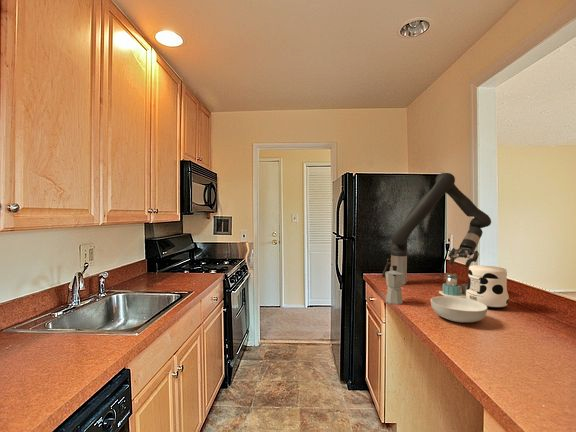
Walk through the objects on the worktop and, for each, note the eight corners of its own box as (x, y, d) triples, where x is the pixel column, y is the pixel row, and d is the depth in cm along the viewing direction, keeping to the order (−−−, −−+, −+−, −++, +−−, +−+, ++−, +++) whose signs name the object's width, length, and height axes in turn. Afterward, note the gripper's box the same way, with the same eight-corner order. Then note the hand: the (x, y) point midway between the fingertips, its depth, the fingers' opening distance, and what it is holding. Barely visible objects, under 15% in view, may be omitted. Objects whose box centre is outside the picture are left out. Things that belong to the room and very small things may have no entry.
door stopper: (395, 276, 218) (396, 258, 218) (396, 277, 212) (396, 260, 212) (382, 275, 221) (382, 257, 221) (382, 276, 215) (382, 259, 215)
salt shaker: (448, 294, 167) (449, 275, 166) (444, 292, 172) (444, 273, 171) (458, 294, 167) (458, 275, 166) (453, 292, 172) (454, 273, 171)
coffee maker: (403, 306, 148) (404, 268, 148) (384, 304, 151) (384, 267, 151) (403, 298, 163) (403, 263, 162) (385, 296, 165) (385, 262, 165)
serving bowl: (457, 330, 120) (457, 312, 119) (419, 313, 140) (419, 297, 140) (500, 325, 125) (500, 308, 125) (458, 309, 145) (458, 294, 145)
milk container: (508, 304, 154) (508, 267, 154) (509, 313, 140) (509, 273, 140) (467, 298, 164) (467, 263, 164) (464, 306, 149) (465, 268, 149)
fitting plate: (448, 298, 163) (448, 287, 163) (438, 292, 174) (439, 282, 174) (482, 299, 163) (482, 288, 163) (470, 293, 174) (470, 283, 174)
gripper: (454, 237, 183) (443, 258, 177) (480, 239, 171) (469, 262, 165) (459, 246, 186) (448, 267, 180) (485, 248, 174) (474, 271, 168)
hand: (458, 265), depth 172 cm, fingers open, 8 cm apart
